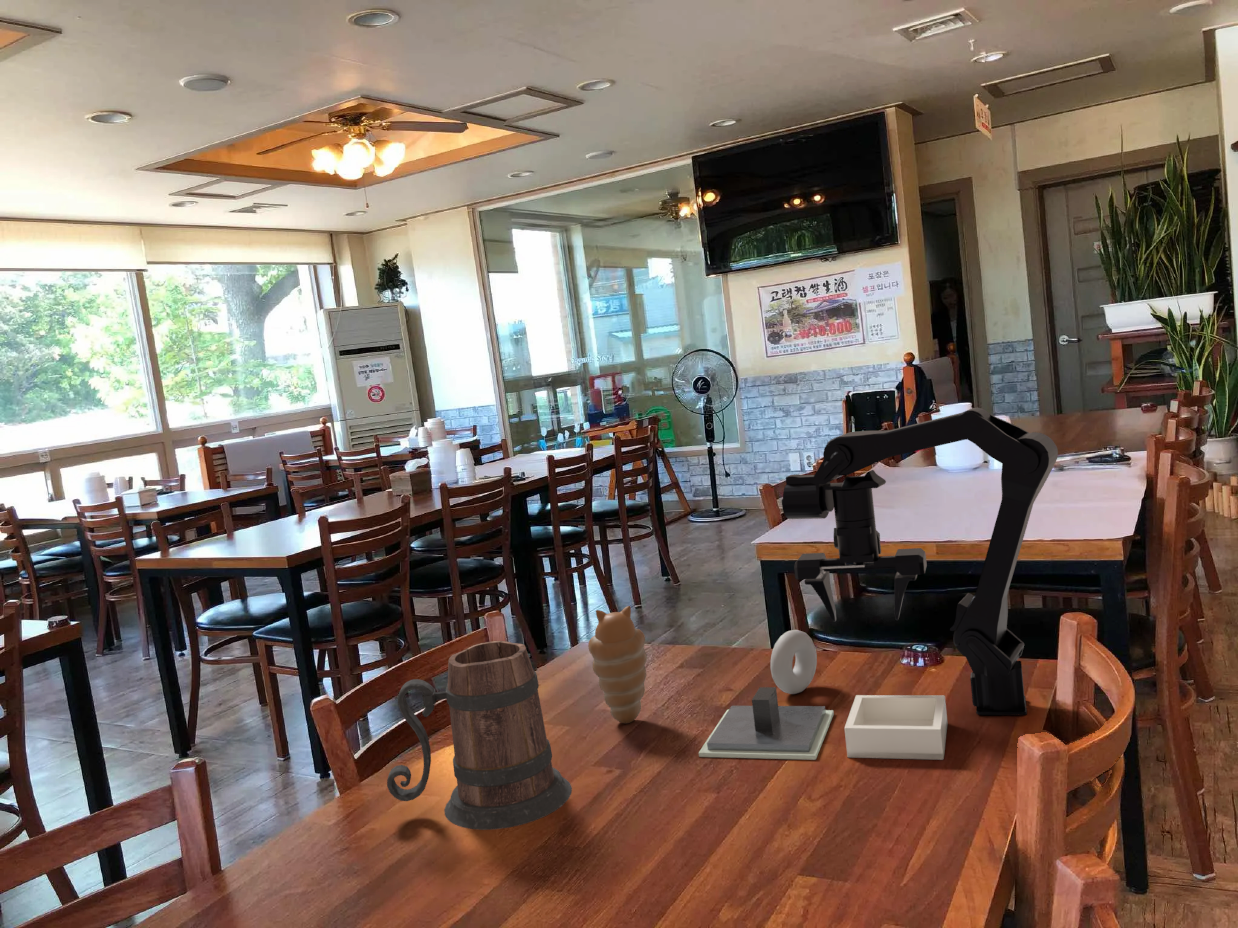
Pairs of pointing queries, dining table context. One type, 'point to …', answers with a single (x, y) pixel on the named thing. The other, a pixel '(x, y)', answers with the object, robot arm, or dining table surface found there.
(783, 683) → the donut
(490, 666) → the tankard
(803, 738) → the lid
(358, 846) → the dining table surface
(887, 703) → the dish
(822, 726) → the mat
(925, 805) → the dining table surface
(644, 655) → the cat ice cream
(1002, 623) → the robot arm
